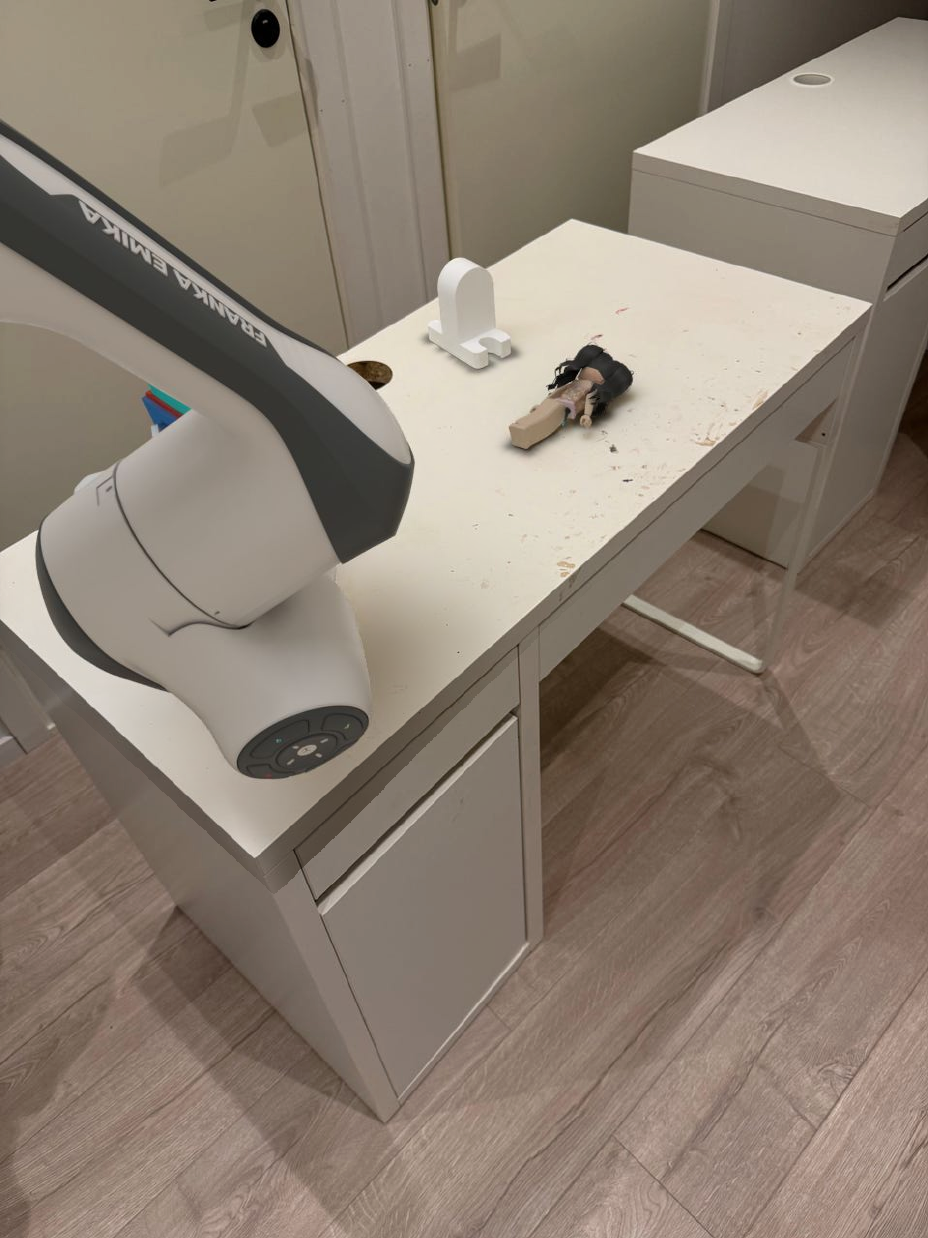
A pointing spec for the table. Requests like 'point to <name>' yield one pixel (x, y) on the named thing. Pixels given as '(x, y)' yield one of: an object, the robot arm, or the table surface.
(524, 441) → the toy figure
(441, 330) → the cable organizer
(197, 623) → the robot arm
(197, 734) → the table surface
